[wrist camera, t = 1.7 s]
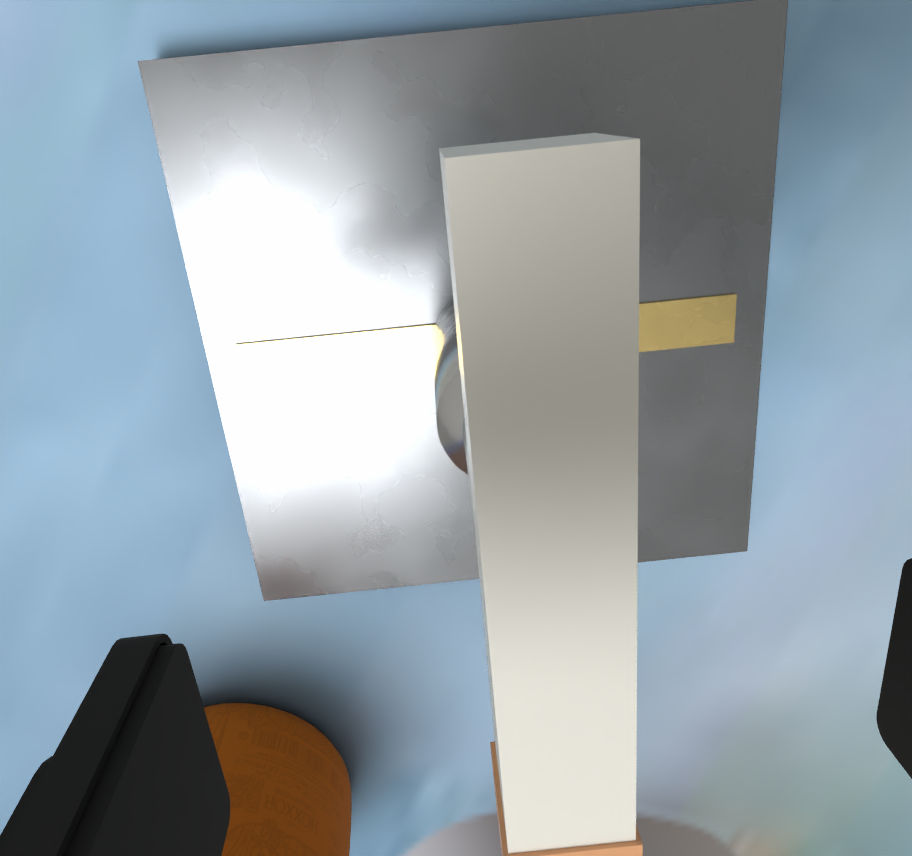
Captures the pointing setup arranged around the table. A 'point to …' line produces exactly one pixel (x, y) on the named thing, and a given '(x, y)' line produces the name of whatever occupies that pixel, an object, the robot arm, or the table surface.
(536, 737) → the t handle
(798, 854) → the table surface
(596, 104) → the post base
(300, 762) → the wine bottle
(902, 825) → the table surface
